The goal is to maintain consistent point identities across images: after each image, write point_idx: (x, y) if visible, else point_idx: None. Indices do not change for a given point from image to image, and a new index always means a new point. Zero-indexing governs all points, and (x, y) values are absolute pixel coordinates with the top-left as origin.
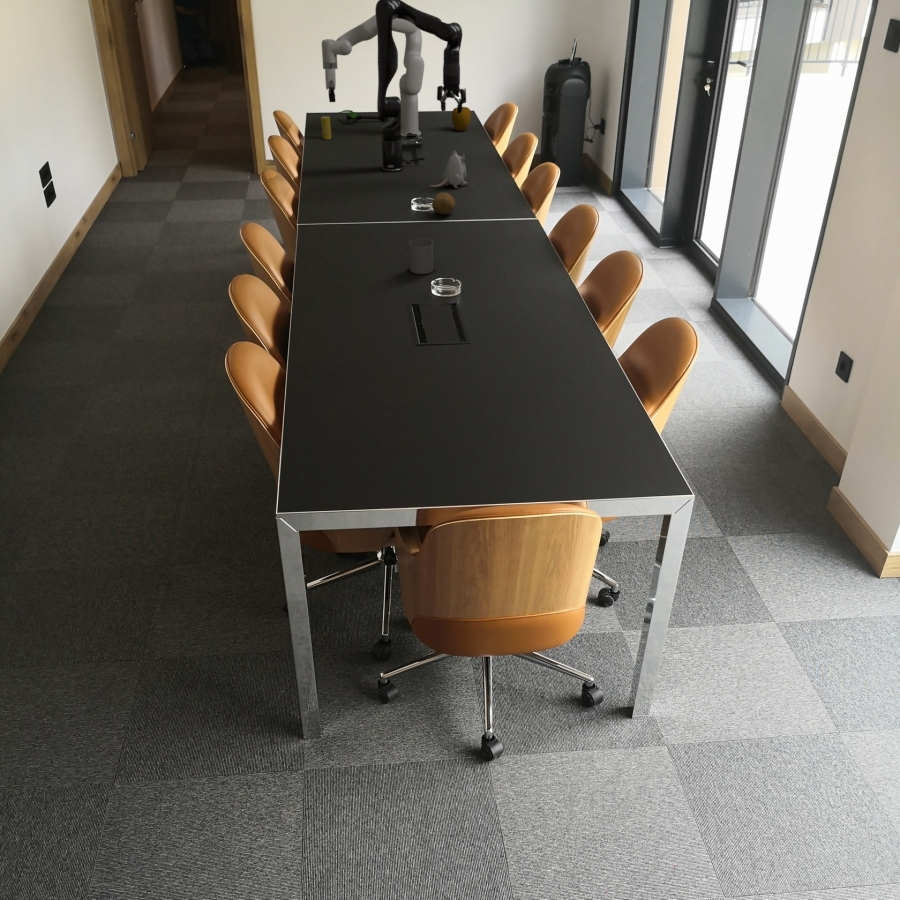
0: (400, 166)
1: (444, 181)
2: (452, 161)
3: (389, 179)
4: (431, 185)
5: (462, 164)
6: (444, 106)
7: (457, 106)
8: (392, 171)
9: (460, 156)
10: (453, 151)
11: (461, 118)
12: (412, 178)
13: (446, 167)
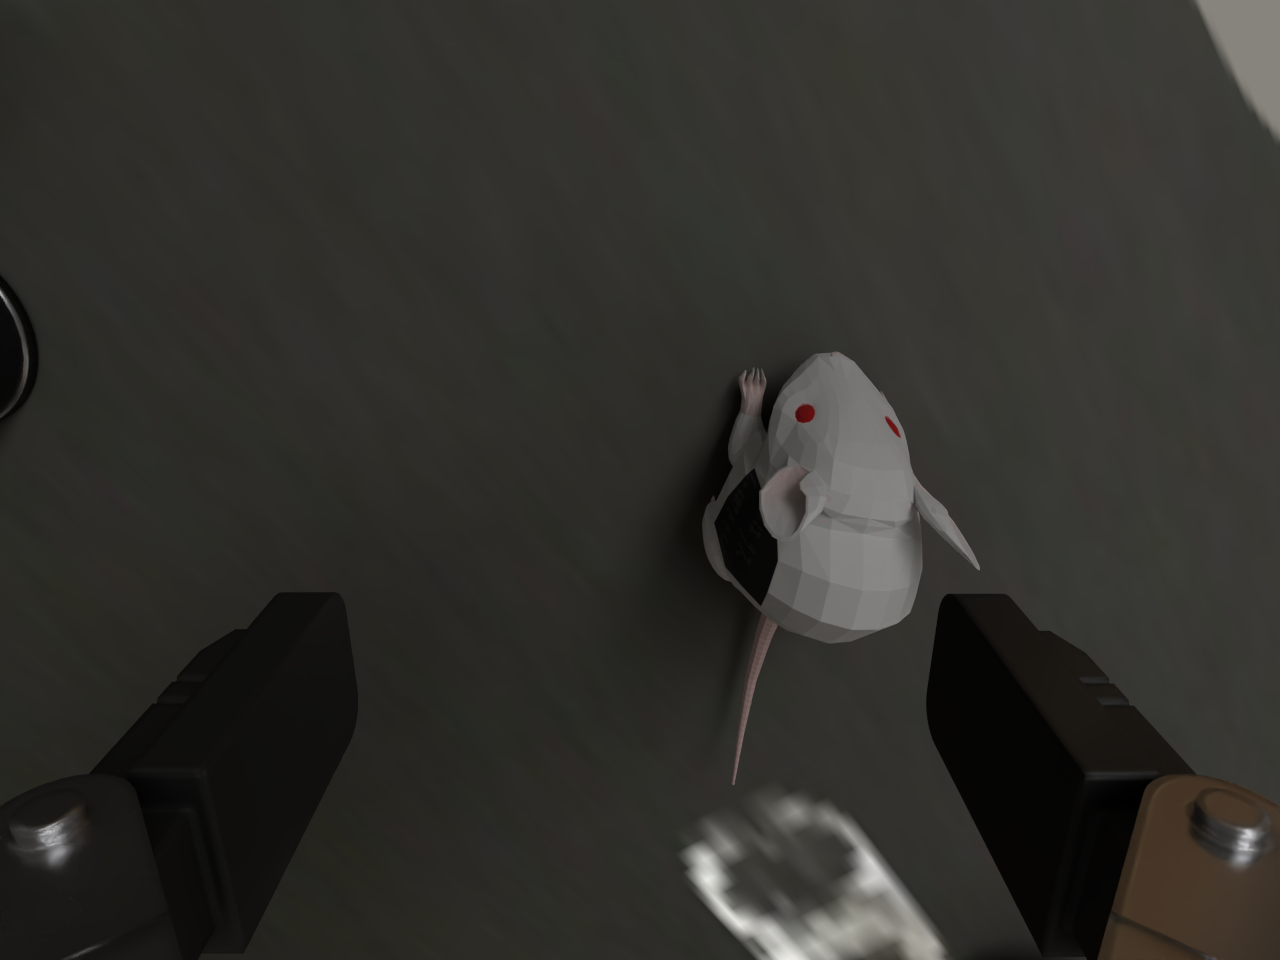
0: (2, 329)
1: (775, 629)
2: (849, 640)
3: (196, 604)
4: (738, 759)
5: (920, 531)
6: (297, 736)
7: (1014, 892)
8: (14, 406)
9: (883, 513)
10: (784, 535)
11: None
12: (323, 475)
13: (762, 611)
